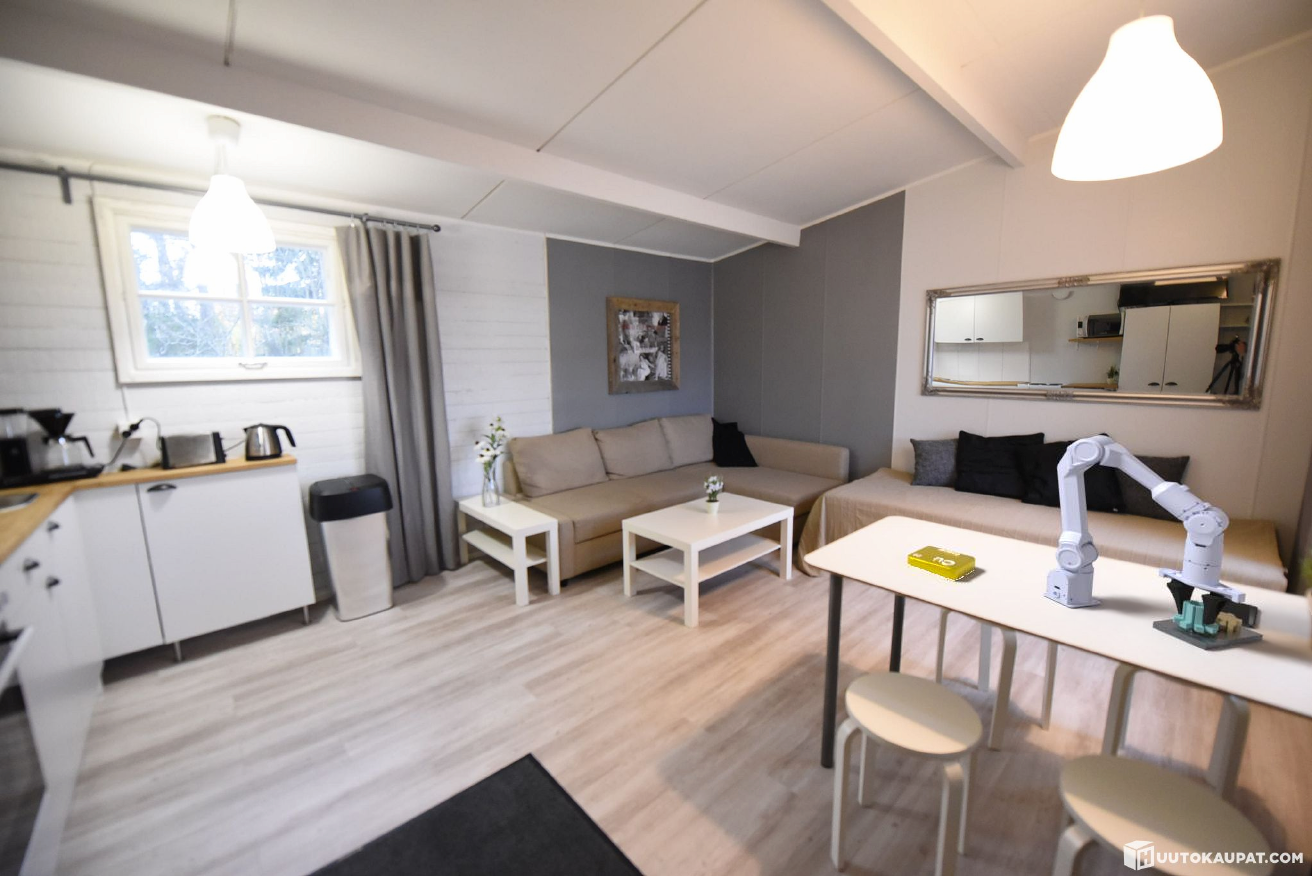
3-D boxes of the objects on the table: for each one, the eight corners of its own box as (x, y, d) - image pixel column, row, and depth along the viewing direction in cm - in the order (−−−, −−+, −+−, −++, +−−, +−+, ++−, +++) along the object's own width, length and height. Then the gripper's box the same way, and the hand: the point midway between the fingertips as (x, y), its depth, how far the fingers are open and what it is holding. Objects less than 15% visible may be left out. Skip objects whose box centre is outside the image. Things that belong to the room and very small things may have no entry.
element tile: (977, 570, 155) (978, 556, 155) (955, 584, 147) (955, 568, 146) (927, 557, 167) (928, 543, 167) (904, 568, 159) (905, 554, 158)
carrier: (1205, 650, 109) (1207, 627, 108) (1152, 627, 119) (1154, 606, 118) (1262, 641, 112) (1265, 618, 111) (1206, 619, 121) (1208, 598, 121)
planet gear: (1201, 635, 110) (1204, 613, 110) (1164, 620, 117) (1166, 599, 116) (1226, 631, 112) (1229, 609, 111) (1188, 616, 118) (1190, 595, 118)
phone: (1258, 606, 125) (1254, 626, 116) (1257, 611, 126) (1254, 631, 116) (1211, 596, 132) (1204, 614, 123) (1211, 600, 132) (1204, 618, 123)
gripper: (1259, 572, 106) (1251, 632, 108) (1177, 548, 120) (1171, 602, 122) (1233, 575, 105) (1226, 636, 106) (1153, 551, 119) (1148, 605, 121)
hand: (1195, 618), depth 114 cm, fingers closed on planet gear, 4 cm apart
